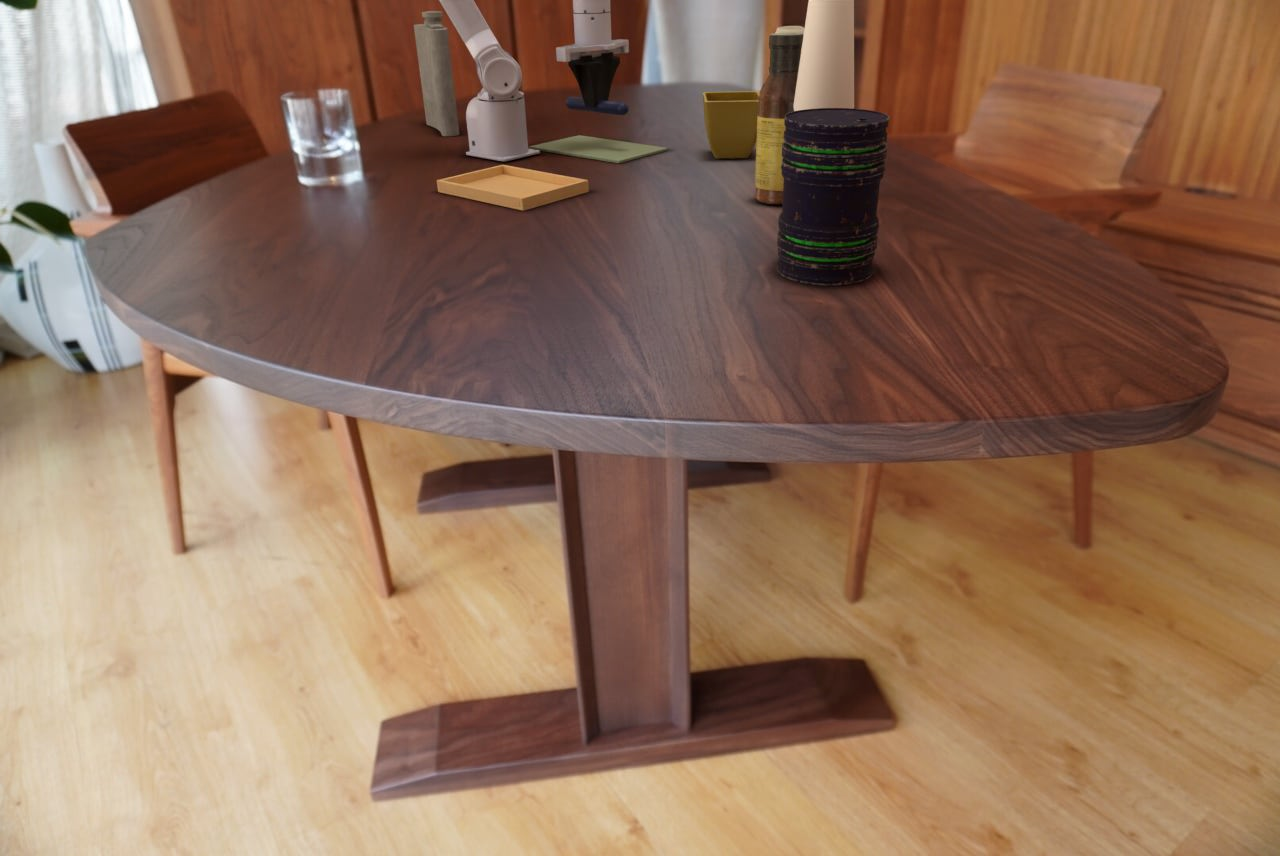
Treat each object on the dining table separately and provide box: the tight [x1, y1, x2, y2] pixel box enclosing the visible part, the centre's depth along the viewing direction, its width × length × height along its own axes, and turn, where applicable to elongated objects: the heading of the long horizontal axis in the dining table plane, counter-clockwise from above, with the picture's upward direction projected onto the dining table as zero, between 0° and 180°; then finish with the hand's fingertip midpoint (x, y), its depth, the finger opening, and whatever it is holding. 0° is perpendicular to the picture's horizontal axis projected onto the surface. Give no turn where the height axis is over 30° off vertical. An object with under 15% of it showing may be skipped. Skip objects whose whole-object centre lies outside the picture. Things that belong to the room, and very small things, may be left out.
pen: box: [565, 95, 630, 116], centre depth 145 cm, size 13×2×2 cm, turn 50°
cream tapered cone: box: [793, 0, 855, 111], centre depth 102 cm, size 7×7×24 cm
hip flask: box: [413, 10, 460, 137], centre depth 164 cm, size 16×4×20 cm, turn 24°
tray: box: [436, 164, 590, 212], centre depth 124 cm, size 17×12×2 cm
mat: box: [528, 134, 669, 164], centre depth 149 cm, size 20×12×1 cm, turn 50°
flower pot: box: [702, 90, 760, 160], centre depth 140 cm, size 9×9×9 cm
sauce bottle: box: [754, 32, 803, 206], centre depth 112 cm, size 7×6×20 cm
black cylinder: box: [776, 108, 890, 286], centre depth 88 cm, size 10×10×15 cm
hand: (596, 105), depth 145 cm, fingers closed on pen, 2 cm apart
